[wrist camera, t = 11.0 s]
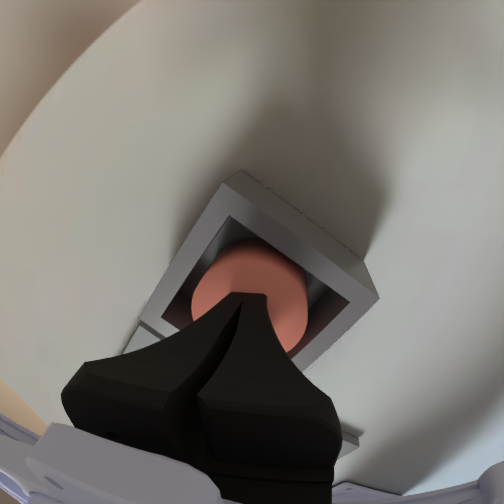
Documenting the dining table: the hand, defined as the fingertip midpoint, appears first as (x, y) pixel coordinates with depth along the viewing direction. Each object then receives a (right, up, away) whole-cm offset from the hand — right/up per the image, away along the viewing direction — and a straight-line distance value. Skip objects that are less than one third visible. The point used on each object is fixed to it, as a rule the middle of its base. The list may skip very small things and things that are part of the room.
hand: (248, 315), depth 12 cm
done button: (0, +1, +2) cm, 2 cm away
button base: (+1, +1, +3) cm, 4 cm away
